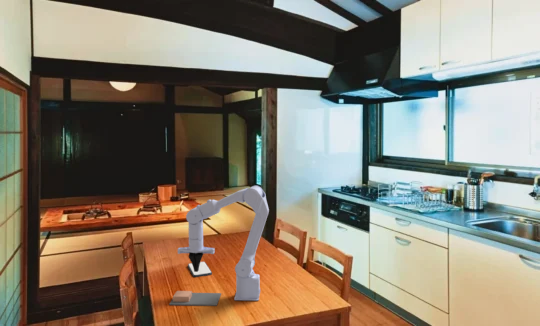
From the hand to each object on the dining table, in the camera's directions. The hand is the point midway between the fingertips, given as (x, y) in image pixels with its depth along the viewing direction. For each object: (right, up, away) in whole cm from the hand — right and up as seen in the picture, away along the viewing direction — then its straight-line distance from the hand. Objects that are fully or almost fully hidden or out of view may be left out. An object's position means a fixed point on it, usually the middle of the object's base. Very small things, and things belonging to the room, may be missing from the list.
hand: (196, 270), depth 146 cm
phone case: (-4, -8, +26) cm, 28 cm away
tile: (-1, -8, -5) cm, 10 cm away
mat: (+1, -10, -5) cm, 11 cm away
